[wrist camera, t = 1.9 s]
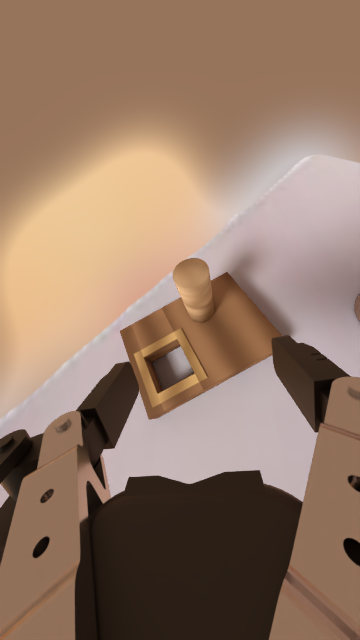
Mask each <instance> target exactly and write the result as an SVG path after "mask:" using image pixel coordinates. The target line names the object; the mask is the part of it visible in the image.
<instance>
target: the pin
mask: <svg viewBox="0 0 360 640" xmlns="http://www.w3.org/2000/svg"><path fill="white" fill-rule="evenodd" d="M173 279H174V282H175V284H176V286H177V289H178V291H179V293H180V296H181V298H182V300H183V303H184V305H185V307H186V310H187V312H188V314H189V317H190V318H191V319H192V320H193V321H195V322H198V323H203V322H207V321H208V320H210V319H211V318H212V317H213V315H214V312H215V309H214V302H213V295H212V288H211V281H210V274H209V268H208V265H207V264H206V262H204V261H203V260H201V259H198V258H190V259H186V260H184V261H182V262H180V263H179V264H178V265H177V266H176V267H175V269H174V271H173Z"/></svg>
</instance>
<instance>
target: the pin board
mask: <svg viewBox="0 0 360 640" xmlns="http://www.w3.org/2000/svg"><path fill="white" fill-rule="evenodd" d="M211 288H212V295H213V302H214V309H215V312H214V315H213V317H212V318H211V319H210V320H208V321H207V322H203V323H198V322H195V321H193V320H192V319H191V318H190V317H189V314H188V312H187V310H186V307H185V305H184V303H183V300H182V298H179V299H177V300H175V301H174V302H172V303H170V304H168V305H166V306H164V307H163V308H161V309H159V310H157V311H155V312H154V313H152V314H150V315H148V316H146V317H145V318H143V319H141V320H139V321H137V322H135V323H134V324H132V325H130V326H128V327H126V328H125V329H123V330H121V331H120V333H121V336H122V339H123V342H124V345H125V348H126V351H127V354H128V357H129V360H130V363H131V365H132V368H133V370H134V373H135V376H136V379H137V381H138V384H139V391H140V394H141V397H142V400H143V403H144V406H145V409H146V412H147V415H148V418H149V419H156V418H159V417H161V416H162V415H164V414H166V413H168V412H170V411H171V410H173V409H175V408H177V407H179V406H180V405H182V404H184V403H186V402H188V401H190V400H191V399H193V398H195V397H197V396H199V395H200V394H202V393H204V392H206V391H208V390H209V389H211V388H213V387H215V386H217V385H219V384H220V383H222V382H224V381H226V380H228V379H229V378H231V377H233V376H235V375H237V374H238V373H240V372H242V371H244V370H246V369H248V368H249V367H251V366H253V365H255V364H257V363H258V362H260V361H262V360H264V359H266V358H268V357H269V356H271V355H273V353H272V343H271V340H272V338H275V337H280V336H282V335H281V334H280V333H279V332H278V331H277V329H276V328H275V327H274V326H273V325H272V324H271V322H270V321H269V320H268V319H267V318H266V317H265V315H264V314H263V313H262V312H261V311H260V310H259V309H258V307H257V306H256V305H255V304H254V303H253V302H252V300H251V299H250V298H249V297H248V296H247V295H246V293H245V292H244V291H243V290H242V289H241V288H240V286H239V285H238V284H237V283H236V282H235V281H234V279H233V278H232V277H231V276H230V275H229V274H228V272H226V273H224V274H222V275H221V276H219V277H217V278H215V279H213V280H212V281H211ZM180 346H181V347H182V349H183V351H184V353H185V355H186V357H187V359H188V361H189V363H190V365H191V367H192V369H193V371H194V373H195V374H193V375H191V376H189V377H188V378H186V379H184V380H182V381H180V382H178V383H177V384H175V385H173V386H171V387H169V388H168V389H166V390H164V391H163V390H162V387H161V385H160V382H159V379H158V377H157V374H156V372H155V369H154V367H153V364H152V362H153V361H154V360H156V359H158V358H160V357H162V356H163V355H165V354H167V353H169V352H171V351H173V350H174V349H176V348H178V347H180Z"/></svg>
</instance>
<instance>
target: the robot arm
mask: <svg viewBox="0 0 360 640" xmlns="http://www.w3.org/2000/svg"><path fill="white" fill-rule="evenodd" d="M355 313H356V315H357V318H358V320H359V321H360V294H359V296H358V297H357V299H356V302H355ZM271 343H272V353H273V363H274V368H275V371H276V374H277V376H278V377H279V379H280V380H281V382H282V383H283V385H284V386H285V388H286V389H287V391H288V392H289V394H290V395H291V397H292V398H293V400H294V402H295V403H296V405H297V406H298V408H299V409H300V411H301V412H302V414H303V415H304V417H305V418H306V420H307V421H308V423H309V424H310V426H311V427H312V429H313V430H314V432H318V436H317V441H316V446H315V450H314V455H313V459H312V464H311V469H310V473H309V478H308V482H307V487H306V491H305V496H304V501H303V502H302V501H300V500H299V499H297V498H296V497H294V496H293V495H291V494H289V493H287V492H285V491H283V490H281V489H279V488H276V487H273V486H271V485H267V484H263V480H262V477H261V473H260V470H255V471H236V472H223V473H221V474H218V475H215V476H212V477H210V478H207V479H204V480H201V481H199V482H196V483H193V484H186V483H182V482H179V481H175V480H172V479H168V478H165V477H161V476H143V477H129V478H128V482H127V485H126V488H125V491H123V492H121V493H119V494H117V495H115V496H113V497H112V498H111V495H110V490H109V485H108V480H107V475H106V470H105V464H104V459H103V457H102V455H101V454H102V452H103V449H112V448H115V446H116V444H117V441H118V439H119V437H120V434H121V432H122V430H123V428H124V425H125V423H126V421H127V419H128V416H129V414H130V412H131V409H132V407H133V405H134V403H135V400H136V398H137V396H138V393H139V384H138V381H137V379H136V376H135V373H134V370H133V368H132V365H131V363H130V362H124V363H118V364H115V365H114V367H113V368H112V369H111V371H110V372H109V373H108V374H107V375H106V376H105V377H103V378H102V379H101V380H100V381H99V382H98V384H97V385H96V387H94V389H93V390H92V391H91V393H90V394H89V395H88V396H87V397H86V399H85V400H84V401H83V402H82V404H81V405H80V406H79V407H78V409H77V410H76V411H71V412H68V413H66V414H64V415H62V416H60V417H59V418H57V419H56V420H54V421H53V422H52V423H51V424H50V425H49V426H48V427H47V429H46V430H45V432H44V433H42V434H39V435H37V436H34V437H31V438H30V436H29V435H28V433H27V432H26V430H23V429H22V430H17V431H14V432H12V433H10V434H8V435H6V436H5V437H3V438H1V439H0V484H1V485H2V486H3V488H4V489H5V490H6V491H7V493H8V494H9V495H10V496H9V497H8V499H7V500H6V501H5V503H4V504H3V505H2V507H1V508H0V640H360V378H358V377H351V376H349V375H348V374H347V373H346V372H344V371H343V370H342V369H340V368H339V367H338V366H337V365H335V364H334V363H333V362H332V361H330V360H329V359H327V358H326V357H325V356H324V355H323V354H321V353H320V352H319V351H318V350H316V349H315V348H314V347H312V346H309V345H307V344H304V343H297V342H296V341H294V340H293V339H292V338H291V337H290V336H288V335H286V336H280V337H275V338H272V340H271Z"/></svg>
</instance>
